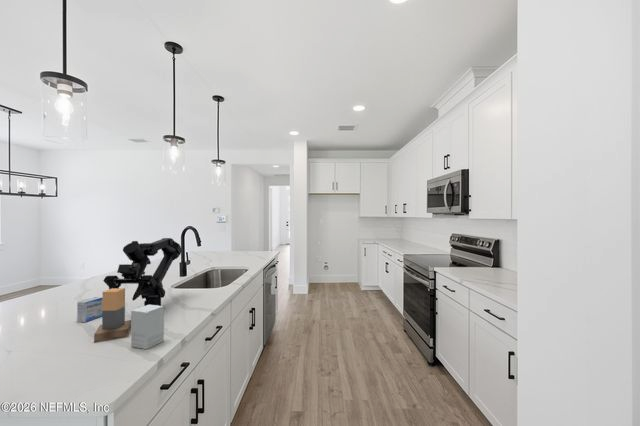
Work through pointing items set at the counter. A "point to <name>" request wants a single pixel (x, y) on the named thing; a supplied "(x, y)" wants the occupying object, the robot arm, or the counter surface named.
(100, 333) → the walnut stand
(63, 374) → the counter surface
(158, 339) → the supplement box
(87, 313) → the medicine box
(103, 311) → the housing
